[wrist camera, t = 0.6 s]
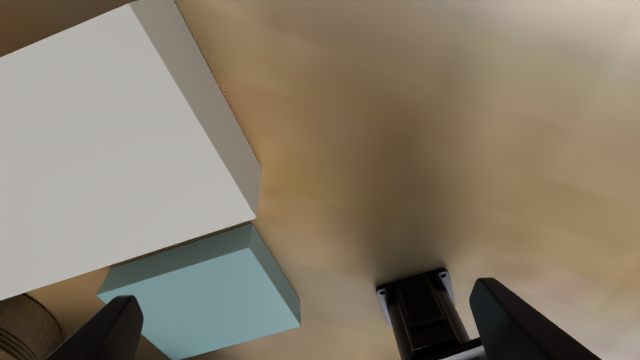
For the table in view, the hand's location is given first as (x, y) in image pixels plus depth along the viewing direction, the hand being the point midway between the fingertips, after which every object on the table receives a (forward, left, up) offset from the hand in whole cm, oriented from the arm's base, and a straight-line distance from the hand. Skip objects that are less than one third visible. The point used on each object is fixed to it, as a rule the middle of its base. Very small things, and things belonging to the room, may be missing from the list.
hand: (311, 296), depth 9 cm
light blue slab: (-12, +12, -14) cm, 22 cm away
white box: (+2, +12, -14) cm, 19 cm away
